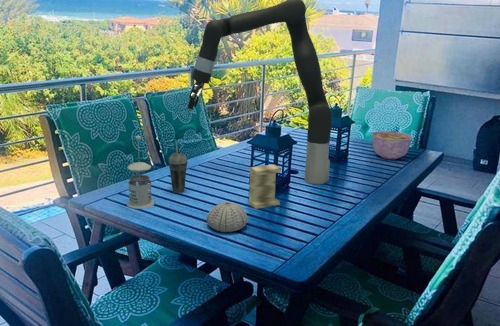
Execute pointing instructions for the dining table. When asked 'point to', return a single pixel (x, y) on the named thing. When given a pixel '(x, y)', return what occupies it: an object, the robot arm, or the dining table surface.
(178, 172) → the beverage cup
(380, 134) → the bowl of food
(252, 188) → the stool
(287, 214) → the dining table surface
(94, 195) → the dining table surface
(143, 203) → the french press
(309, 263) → the dining table surface
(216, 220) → the sea urchin shell
